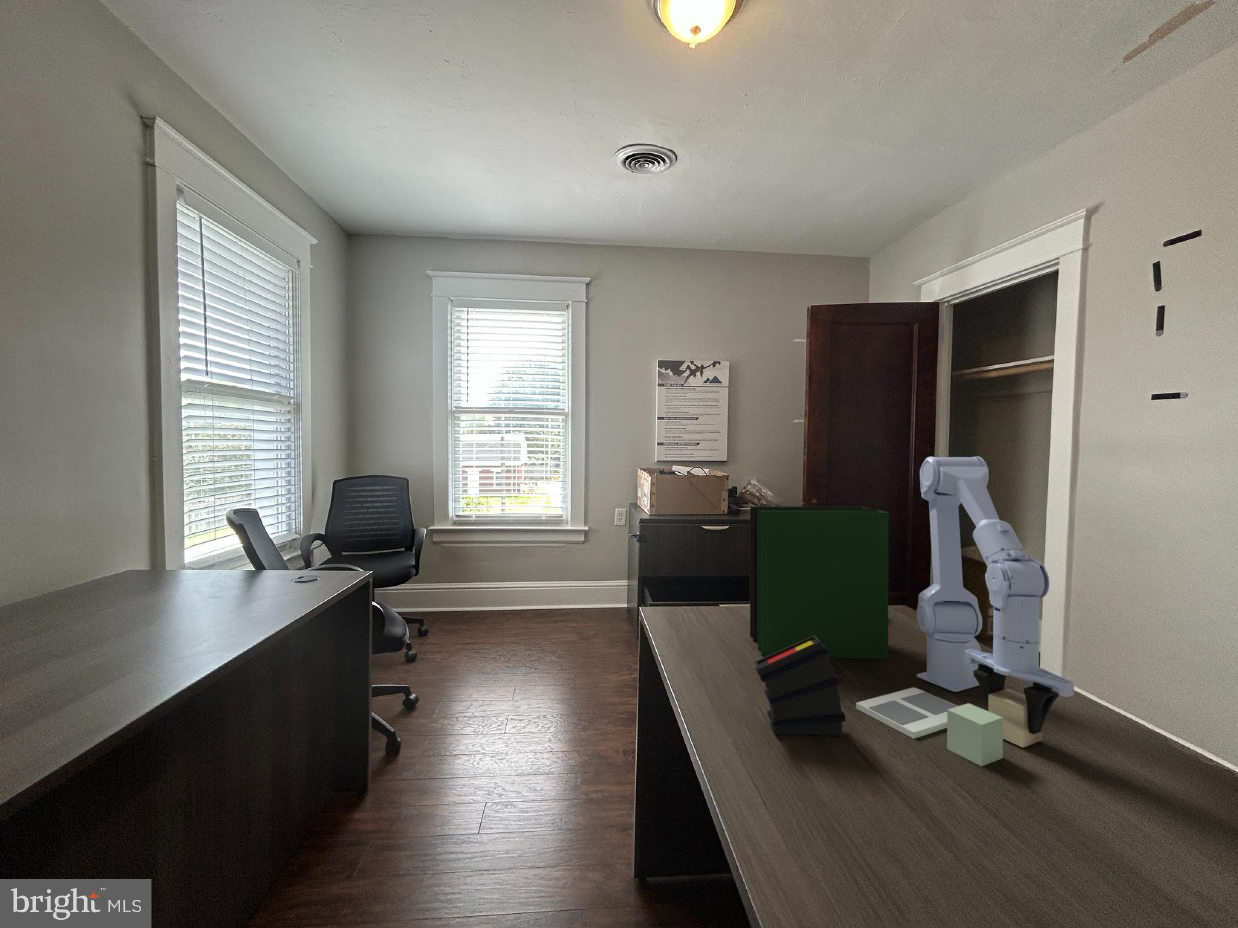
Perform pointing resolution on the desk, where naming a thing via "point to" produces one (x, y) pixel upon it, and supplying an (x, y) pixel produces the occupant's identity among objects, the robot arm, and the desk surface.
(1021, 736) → the wooden toy cube
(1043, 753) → the desk surface
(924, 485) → the robot arm
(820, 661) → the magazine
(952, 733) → the sage post
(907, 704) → the board
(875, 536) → the binder
